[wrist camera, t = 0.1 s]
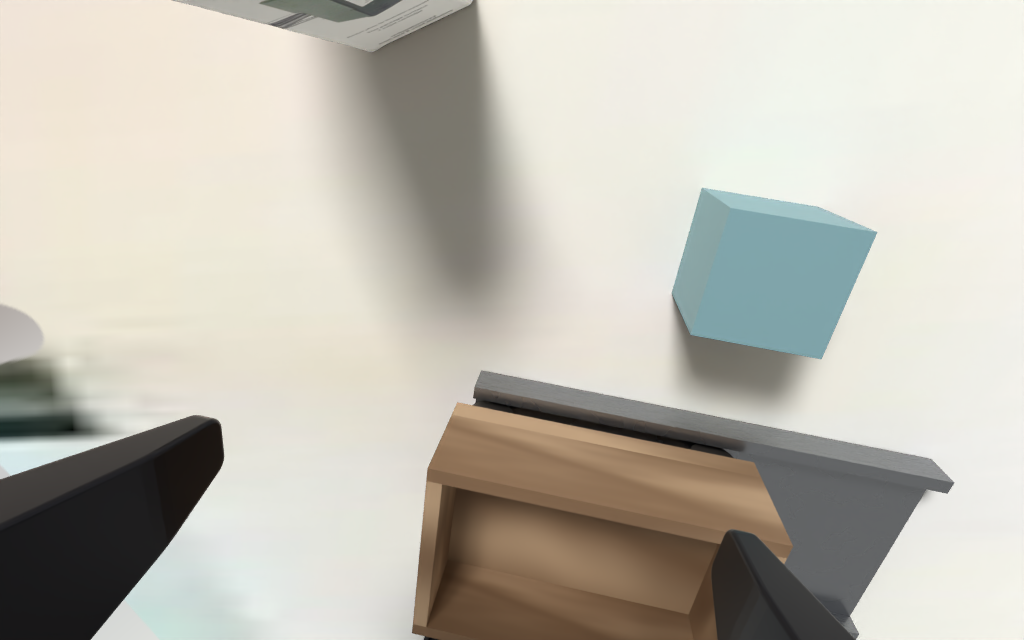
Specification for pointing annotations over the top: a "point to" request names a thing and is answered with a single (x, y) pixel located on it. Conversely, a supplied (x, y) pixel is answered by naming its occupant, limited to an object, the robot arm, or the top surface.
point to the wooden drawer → (577, 532)
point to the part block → (768, 272)
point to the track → (768, 478)
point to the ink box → (340, 17)
